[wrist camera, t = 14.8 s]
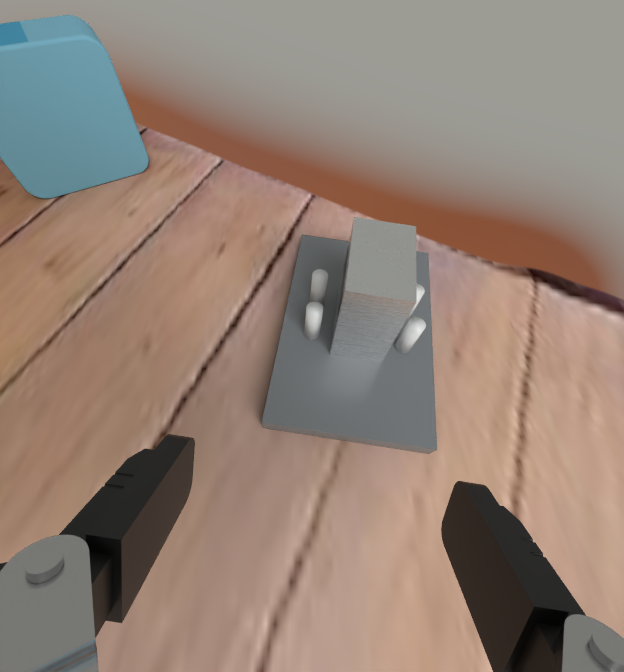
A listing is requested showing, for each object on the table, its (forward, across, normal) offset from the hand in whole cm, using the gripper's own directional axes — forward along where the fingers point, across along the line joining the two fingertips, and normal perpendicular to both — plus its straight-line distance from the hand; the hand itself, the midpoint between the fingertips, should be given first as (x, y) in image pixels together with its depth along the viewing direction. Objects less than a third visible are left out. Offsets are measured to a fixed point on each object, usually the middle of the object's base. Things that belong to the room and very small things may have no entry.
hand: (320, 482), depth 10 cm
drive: (+18, -3, -1) cm, 18 cm away
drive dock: (+19, -3, 0) cm, 19 cm away
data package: (+30, +27, -10) cm, 42 cm away
